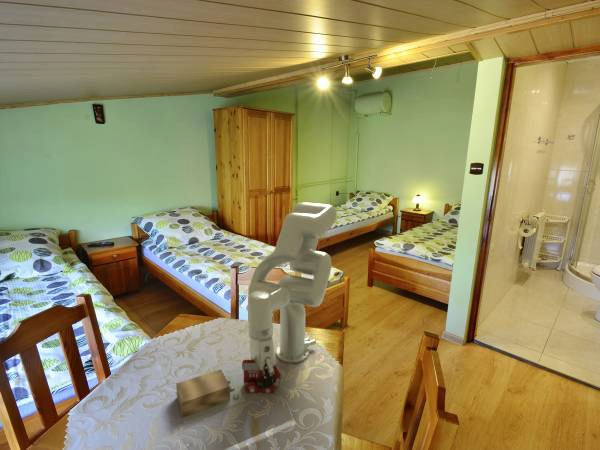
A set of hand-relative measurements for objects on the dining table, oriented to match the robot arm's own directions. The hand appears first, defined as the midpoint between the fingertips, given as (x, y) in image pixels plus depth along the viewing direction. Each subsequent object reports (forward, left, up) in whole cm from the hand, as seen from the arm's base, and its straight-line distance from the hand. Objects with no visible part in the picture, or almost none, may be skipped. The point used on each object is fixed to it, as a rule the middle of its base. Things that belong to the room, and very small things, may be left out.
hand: (261, 377), depth 105 cm
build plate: (+16, -3, -4) cm, 17 cm away
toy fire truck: (0, 0, -4) cm, 4 cm away
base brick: (+18, -3, -3) cm, 18 cm away
